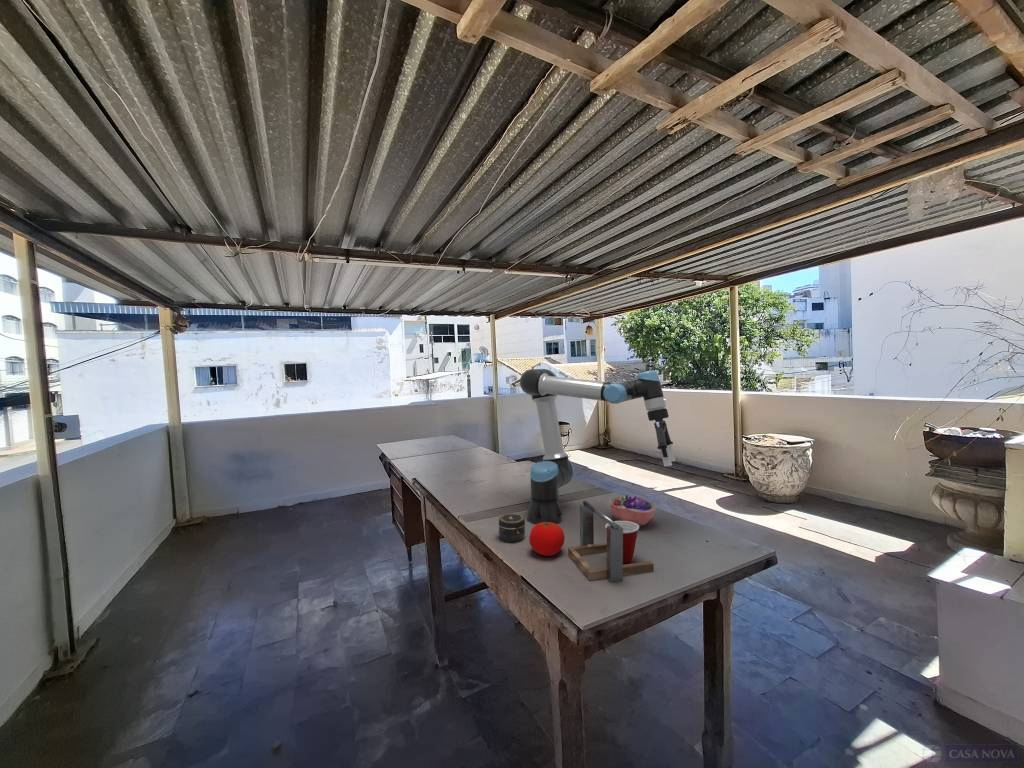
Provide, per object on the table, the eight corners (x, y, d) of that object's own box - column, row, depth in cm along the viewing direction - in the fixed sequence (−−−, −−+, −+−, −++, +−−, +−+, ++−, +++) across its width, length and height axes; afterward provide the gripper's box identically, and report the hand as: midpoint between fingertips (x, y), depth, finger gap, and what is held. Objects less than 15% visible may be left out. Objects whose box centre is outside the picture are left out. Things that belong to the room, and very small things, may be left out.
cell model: (626, 511, 173) (626, 486, 172) (665, 526, 156) (665, 498, 156) (599, 520, 164) (599, 493, 163) (638, 536, 147) (637, 506, 146)
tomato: (523, 553, 134) (523, 523, 134) (545, 542, 143) (544, 513, 143) (549, 564, 126) (549, 532, 126) (570, 551, 135) (570, 521, 135)
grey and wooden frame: (565, 551, 135) (564, 502, 135) (621, 544, 140) (621, 496, 140) (593, 585, 113) (592, 527, 113) (658, 575, 118) (658, 519, 118)
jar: (507, 545, 140) (507, 525, 140) (494, 536, 149) (493, 516, 148) (530, 539, 145) (530, 519, 145) (515, 530, 154) (515, 511, 154)
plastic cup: (616, 550, 136) (616, 516, 135) (645, 560, 128) (645, 524, 128) (598, 561, 128) (598, 525, 128) (628, 572, 120) (628, 534, 120)
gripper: (662, 407, 140) (677, 466, 137) (669, 407, 162) (682, 458, 159) (641, 411, 143) (655, 469, 140) (651, 411, 165) (663, 461, 162)
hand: (670, 463), depth 149 cm, fingers open, 13 cm apart
